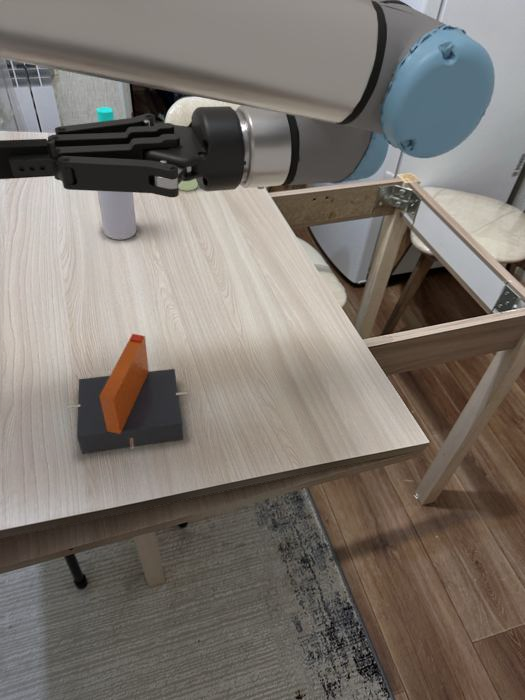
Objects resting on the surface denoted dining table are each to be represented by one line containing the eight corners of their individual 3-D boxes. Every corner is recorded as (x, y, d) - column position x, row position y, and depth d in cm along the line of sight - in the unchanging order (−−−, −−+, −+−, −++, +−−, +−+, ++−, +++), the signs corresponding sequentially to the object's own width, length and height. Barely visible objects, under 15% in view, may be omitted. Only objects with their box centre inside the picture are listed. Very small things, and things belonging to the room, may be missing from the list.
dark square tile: (71, 474, 56) (65, 457, 53) (75, 382, 65) (70, 363, 63) (194, 456, 59) (194, 439, 56) (181, 371, 69) (180, 353, 66)
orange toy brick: (120, 434, 56) (113, 397, 51) (107, 431, 56) (98, 394, 51) (148, 372, 63) (144, 334, 58) (136, 369, 63) (132, 332, 58)
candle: (178, 191, 105) (177, 154, 99) (172, 181, 108) (171, 144, 102) (200, 189, 106) (200, 152, 101) (194, 179, 109) (194, 142, 104)
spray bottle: (101, 225, 93) (82, 103, 77) (133, 221, 95) (121, 102, 79) (106, 242, 89) (87, 117, 73) (139, 238, 91) (127, 116, 75)
